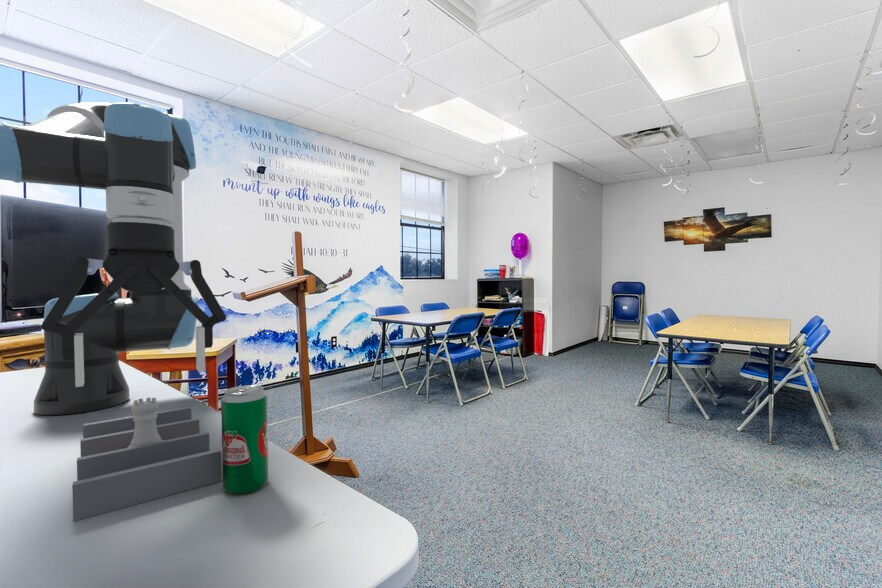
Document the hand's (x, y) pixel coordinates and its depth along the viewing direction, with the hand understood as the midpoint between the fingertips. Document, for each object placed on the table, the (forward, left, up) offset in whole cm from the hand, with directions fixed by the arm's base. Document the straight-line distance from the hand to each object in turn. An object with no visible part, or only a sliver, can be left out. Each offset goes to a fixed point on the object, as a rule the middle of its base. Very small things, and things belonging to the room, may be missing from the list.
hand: (144, 377), depth 57 cm
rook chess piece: (0, 0, -11) cm, 11 cm away
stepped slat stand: (0, 0, -12) cm, 12 cm away
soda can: (+16, +9, -12) cm, 22 cm away
